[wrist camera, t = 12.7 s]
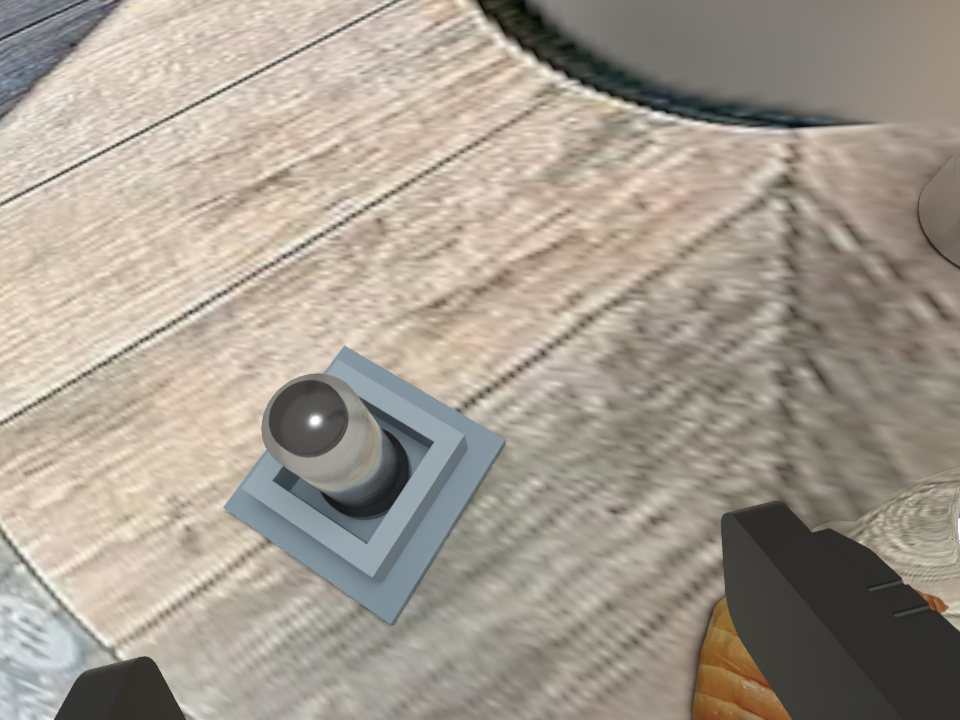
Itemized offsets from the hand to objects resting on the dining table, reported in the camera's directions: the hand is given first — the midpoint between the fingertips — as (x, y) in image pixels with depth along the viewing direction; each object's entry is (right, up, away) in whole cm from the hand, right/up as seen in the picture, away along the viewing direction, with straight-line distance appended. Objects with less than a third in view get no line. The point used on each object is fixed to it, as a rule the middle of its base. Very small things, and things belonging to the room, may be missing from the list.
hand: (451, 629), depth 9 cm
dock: (-6, -3, +30) cm, 31 cm away
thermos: (-6, -3, +29) cm, 30 cm away
